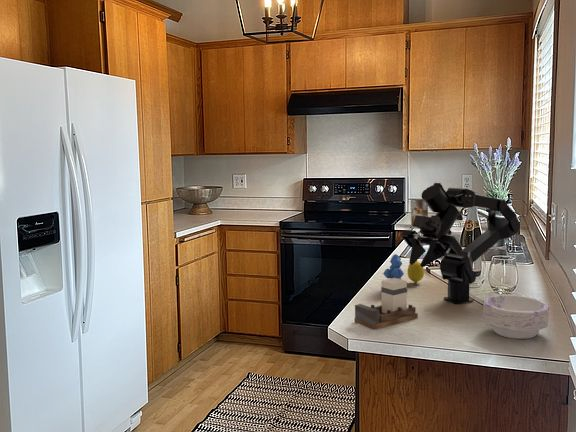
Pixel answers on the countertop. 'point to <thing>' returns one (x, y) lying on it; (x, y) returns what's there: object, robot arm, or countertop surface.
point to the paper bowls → (515, 315)
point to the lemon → (415, 272)
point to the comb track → (382, 316)
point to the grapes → (394, 268)
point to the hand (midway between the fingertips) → (415, 265)
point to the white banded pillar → (393, 294)
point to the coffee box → (418, 209)
